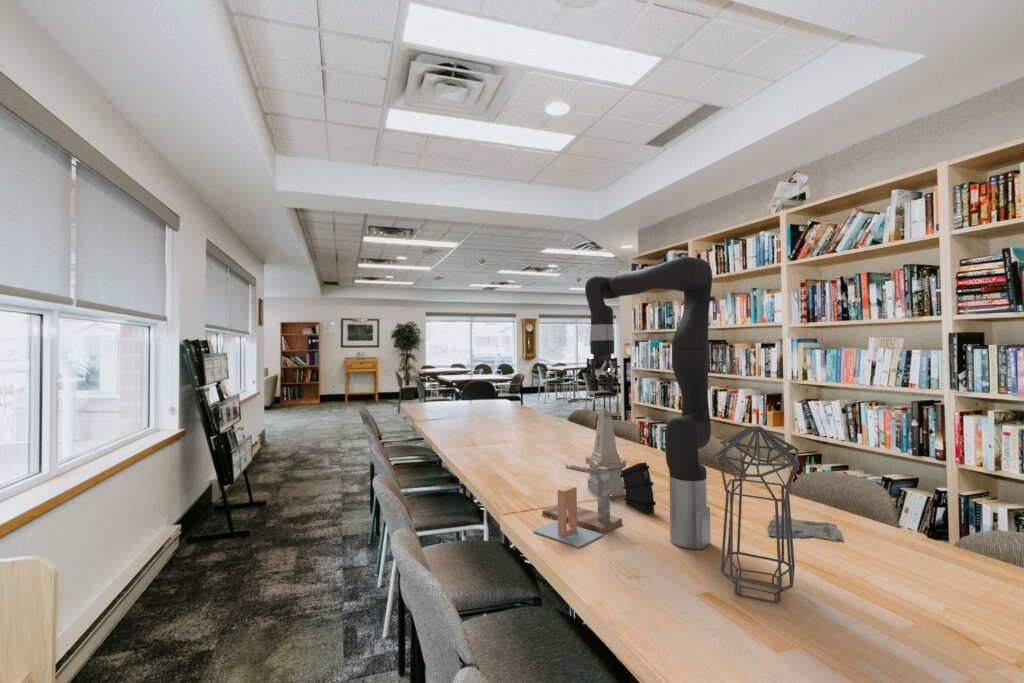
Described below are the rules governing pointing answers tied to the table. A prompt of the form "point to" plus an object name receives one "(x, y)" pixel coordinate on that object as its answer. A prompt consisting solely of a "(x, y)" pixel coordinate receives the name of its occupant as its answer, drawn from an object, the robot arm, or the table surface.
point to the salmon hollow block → (566, 501)
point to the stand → (602, 518)
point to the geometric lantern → (784, 502)
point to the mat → (575, 538)
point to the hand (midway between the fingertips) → (602, 390)
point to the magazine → (638, 488)
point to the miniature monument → (606, 456)
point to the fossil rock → (807, 529)
